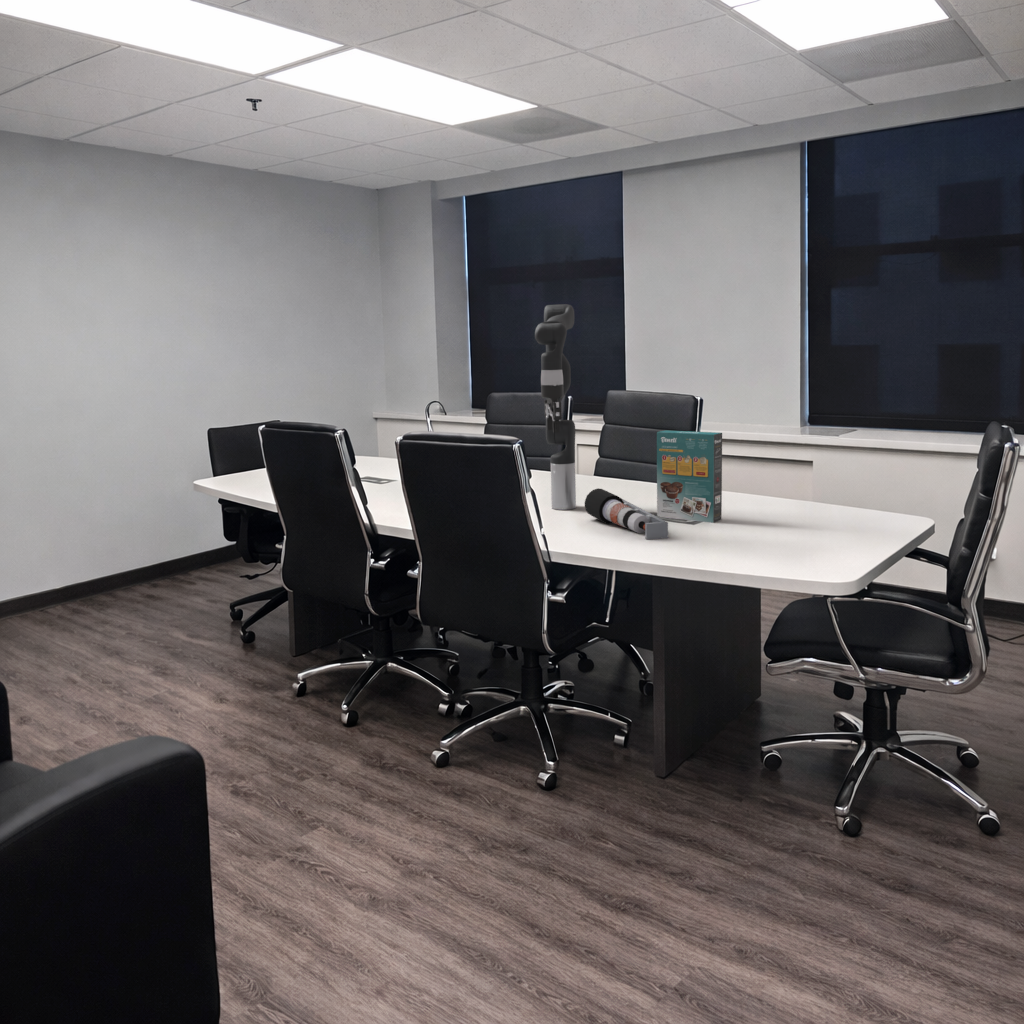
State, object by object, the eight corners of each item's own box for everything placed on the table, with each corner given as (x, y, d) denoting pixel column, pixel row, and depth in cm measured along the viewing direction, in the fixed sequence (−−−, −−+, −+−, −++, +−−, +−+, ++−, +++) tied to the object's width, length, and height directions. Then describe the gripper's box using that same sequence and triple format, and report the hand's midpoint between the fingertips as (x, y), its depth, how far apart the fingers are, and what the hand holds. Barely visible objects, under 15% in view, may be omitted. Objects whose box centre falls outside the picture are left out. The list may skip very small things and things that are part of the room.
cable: (643, 550, 296) (632, 525, 292) (591, 521, 326) (580, 498, 322) (667, 533, 299) (657, 507, 294) (613, 506, 328) (603, 483, 324)
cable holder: (601, 512, 338) (601, 498, 337) (619, 510, 340) (619, 497, 339) (646, 539, 291) (646, 523, 290) (667, 537, 292) (667, 522, 291)
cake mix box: (721, 519, 317) (722, 432, 312) (713, 522, 313) (713, 434, 307) (665, 513, 331) (665, 430, 326) (657, 516, 327) (656, 432, 321)
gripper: (536, 383, 318) (537, 429, 321) (546, 384, 305) (547, 433, 308) (557, 382, 320) (558, 428, 323) (568, 383, 306) (569, 432, 309)
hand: (553, 431), depth 315 cm, fingers open, 8 cm apart
